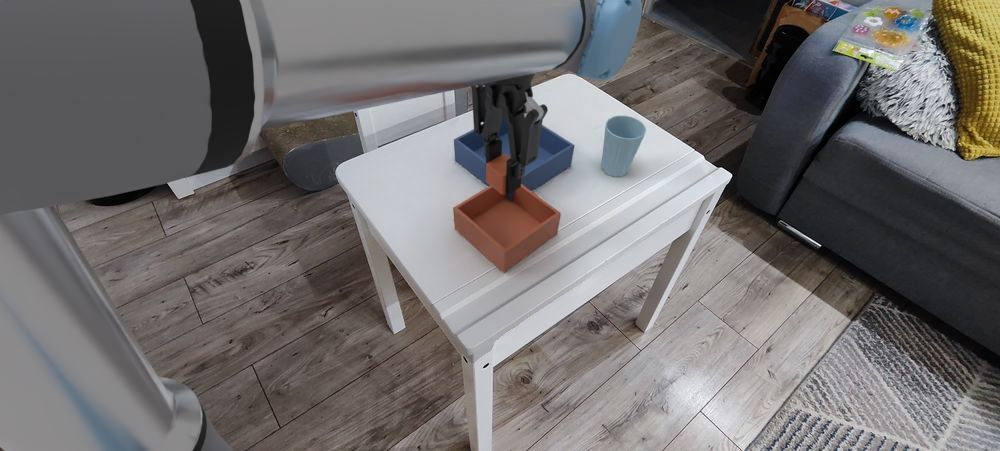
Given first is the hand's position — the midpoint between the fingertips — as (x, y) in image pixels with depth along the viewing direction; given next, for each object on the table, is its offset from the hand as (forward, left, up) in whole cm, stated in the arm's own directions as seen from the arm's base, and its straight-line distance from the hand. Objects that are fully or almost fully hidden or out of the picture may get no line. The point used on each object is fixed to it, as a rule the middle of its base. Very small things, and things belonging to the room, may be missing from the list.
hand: (503, 181), depth 74 cm
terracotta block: (0, 0, 0) cm, 0 cm away
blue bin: (+14, +12, -12) cm, 22 cm away
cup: (+29, -3, -12) cm, 32 cm away
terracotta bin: (0, -1, -12) cm, 12 cm away
